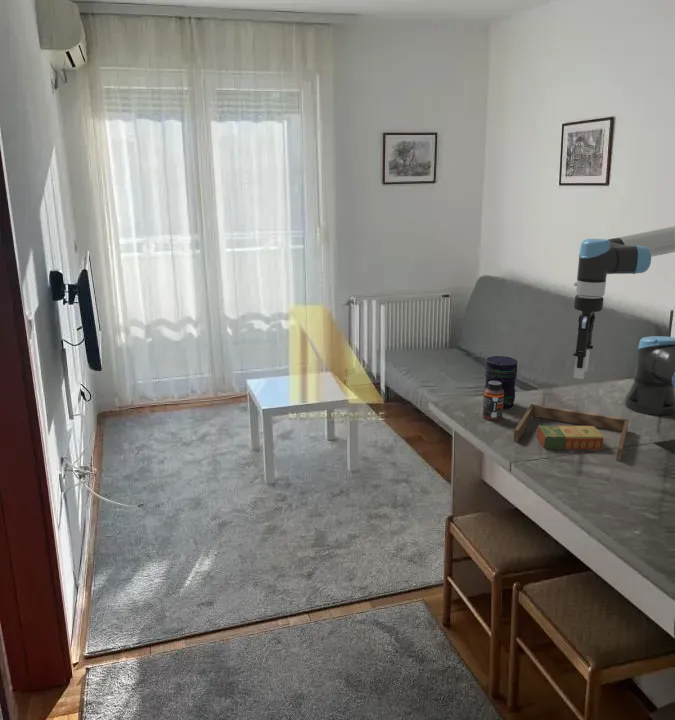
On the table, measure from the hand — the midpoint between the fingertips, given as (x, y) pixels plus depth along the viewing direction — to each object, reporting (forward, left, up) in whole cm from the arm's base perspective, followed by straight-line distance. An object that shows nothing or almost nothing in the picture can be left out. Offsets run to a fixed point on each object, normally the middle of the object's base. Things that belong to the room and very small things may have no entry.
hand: (580, 374), depth 194 cm
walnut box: (0, +6, -17) cm, 18 cm away
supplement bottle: (+24, +2, -17) cm, 30 cm away
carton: (0, +11, -18) cm, 21 cm away
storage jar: (+25, -10, -17) cm, 32 cm away
